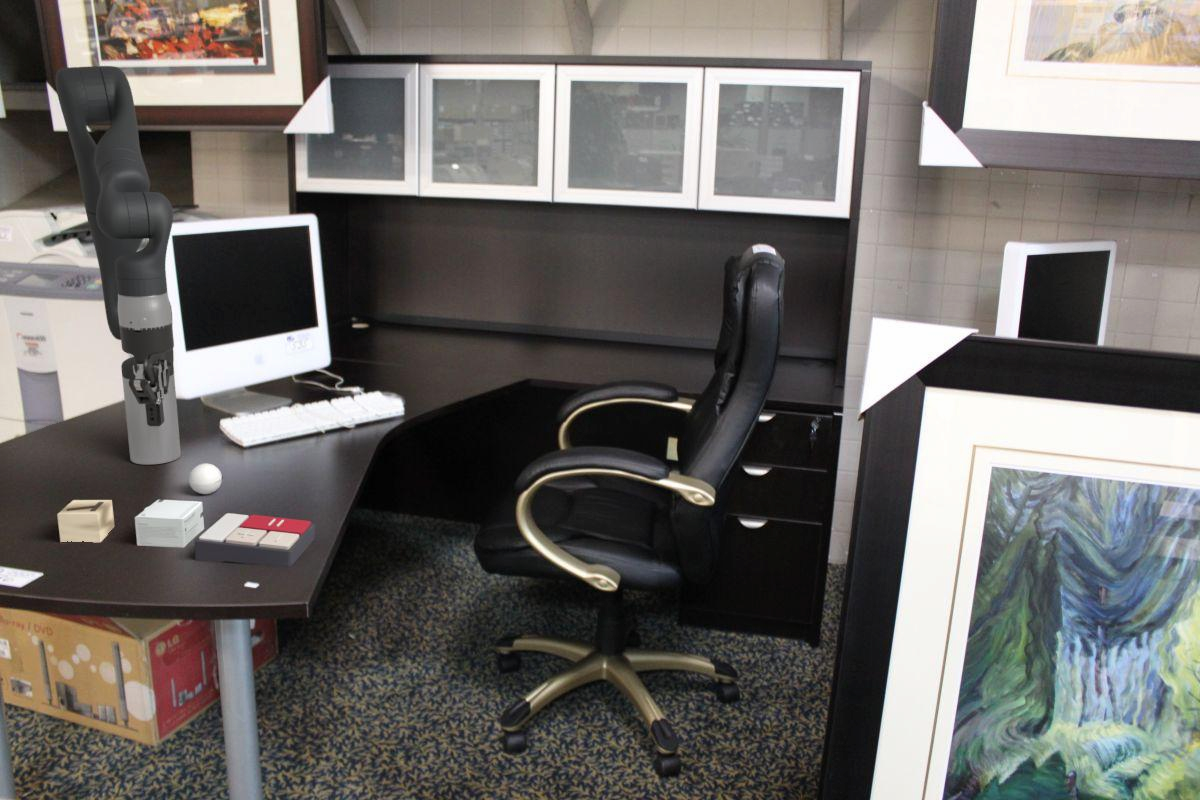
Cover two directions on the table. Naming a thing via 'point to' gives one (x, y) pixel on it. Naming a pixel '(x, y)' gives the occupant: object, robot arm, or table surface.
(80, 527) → the numbered block
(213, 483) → the white ball
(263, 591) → the table surface
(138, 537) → the small box
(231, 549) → the calculator
